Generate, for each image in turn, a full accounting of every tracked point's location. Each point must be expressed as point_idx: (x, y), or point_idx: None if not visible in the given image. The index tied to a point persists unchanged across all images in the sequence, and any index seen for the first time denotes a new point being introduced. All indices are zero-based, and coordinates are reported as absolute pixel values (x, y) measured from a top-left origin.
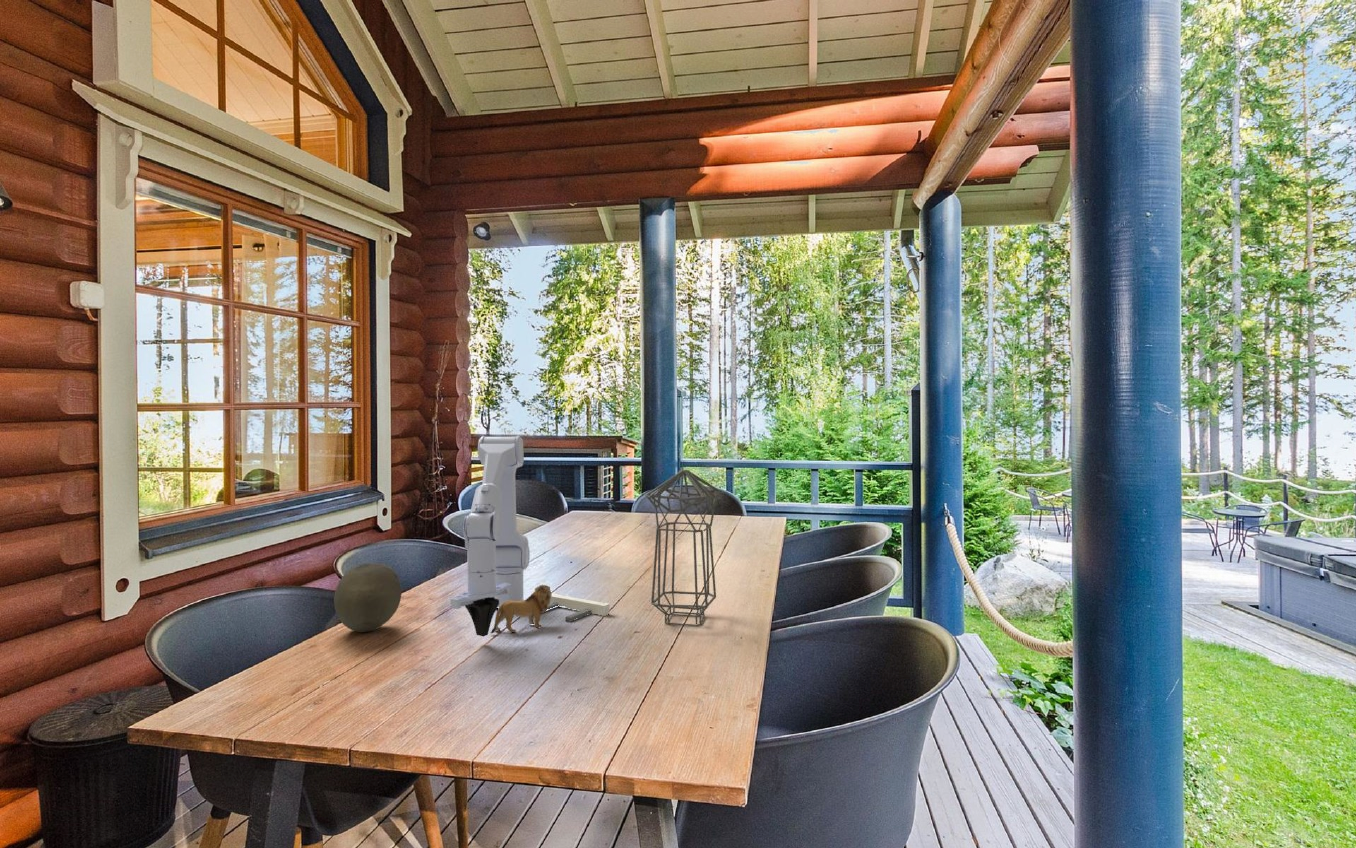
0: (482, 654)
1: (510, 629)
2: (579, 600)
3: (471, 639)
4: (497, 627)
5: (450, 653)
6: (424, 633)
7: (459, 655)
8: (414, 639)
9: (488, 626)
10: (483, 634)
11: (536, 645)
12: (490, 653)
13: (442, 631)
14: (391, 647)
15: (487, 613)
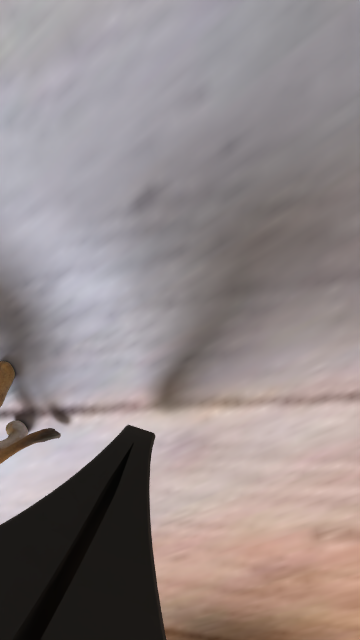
0: (255, 363)
1: (3, 383)
2: None
3: None
4: (12, 436)
5: (272, 477)
6: None
7: (287, 440)
8: (181, 607)
9: (115, 452)
10: (153, 439)
11: (80, 187)
12: (236, 338)
13: None
14: (260, 636)
15: (95, 547)
